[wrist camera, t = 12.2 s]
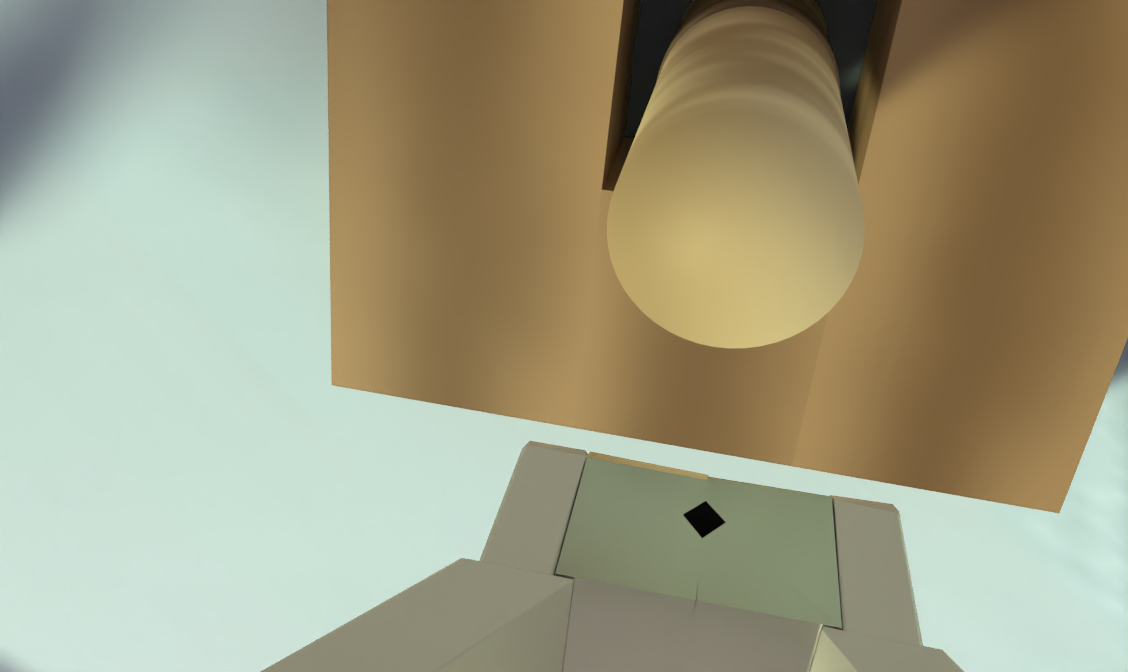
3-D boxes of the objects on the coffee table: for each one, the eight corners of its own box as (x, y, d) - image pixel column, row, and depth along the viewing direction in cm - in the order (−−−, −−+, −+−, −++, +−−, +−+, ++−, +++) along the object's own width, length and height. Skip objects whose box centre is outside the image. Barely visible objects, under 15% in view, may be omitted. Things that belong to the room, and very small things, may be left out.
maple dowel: (845, -22, 24) (897, 127, 14) (813, 134, 26) (837, 369, 16) (685, -42, 25) (618, 88, 14) (663, 113, 27) (590, 330, 16)
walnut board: (1307, -371, 20) (1418, -403, 17) (1024, 424, 29) (1059, 513, 25) (392, -449, 22) (320, -492, 19) (382, 316, 31) (331, 385, 27)
